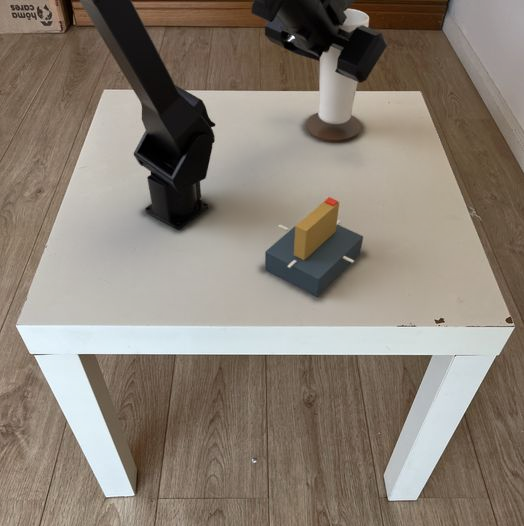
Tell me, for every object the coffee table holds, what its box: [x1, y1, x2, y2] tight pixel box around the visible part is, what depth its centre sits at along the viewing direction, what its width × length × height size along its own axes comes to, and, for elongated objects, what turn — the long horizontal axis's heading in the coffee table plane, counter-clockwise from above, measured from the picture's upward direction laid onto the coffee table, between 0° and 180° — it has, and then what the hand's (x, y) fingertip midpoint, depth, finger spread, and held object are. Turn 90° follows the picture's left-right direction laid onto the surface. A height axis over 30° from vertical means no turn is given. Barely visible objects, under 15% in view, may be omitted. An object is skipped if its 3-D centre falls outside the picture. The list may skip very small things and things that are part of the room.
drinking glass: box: [317, 8, 370, 124], centre depth 88 cm, size 7×7×15 cm
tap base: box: [264, 219, 364, 297], centre depth 74 cm, size 11×11×3 cm
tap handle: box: [294, 196, 340, 260], centre depth 71 cm, size 7×2×5 cm, turn 142°
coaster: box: [305, 112, 362, 144], centre depth 96 cm, size 9×9×1 cm
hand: (344, 67), depth 89 cm, fingers closed on drinking glass, 6 cm apart
